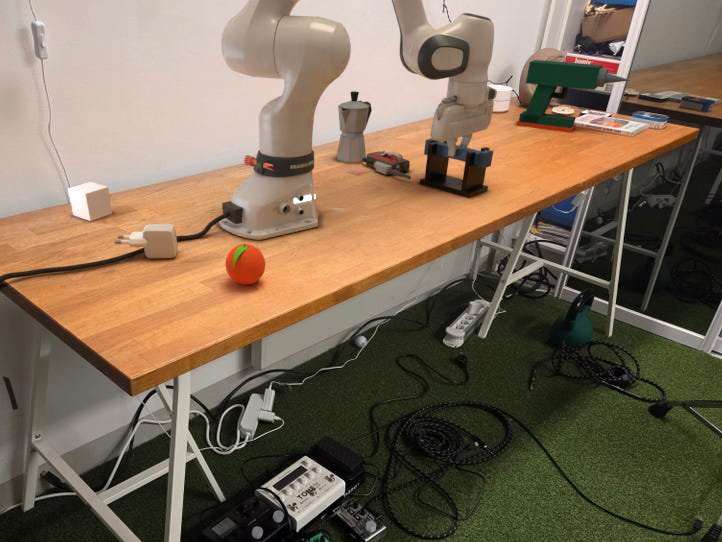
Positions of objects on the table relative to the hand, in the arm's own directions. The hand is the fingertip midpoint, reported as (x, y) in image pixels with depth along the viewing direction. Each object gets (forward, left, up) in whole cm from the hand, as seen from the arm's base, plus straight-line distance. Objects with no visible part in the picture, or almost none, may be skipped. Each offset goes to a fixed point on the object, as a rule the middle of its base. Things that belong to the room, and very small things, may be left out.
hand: (457, 154), depth 149 cm
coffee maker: (+1, +35, -8) cm, 36 cm away
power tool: (+82, +11, -8) cm, 83 cm away
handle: (0, 0, -2) cm, 2 cm away
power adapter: (-79, +15, -8) cm, 81 cm away
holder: (0, 0, -8) cm, 8 cm away
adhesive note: (-76, +43, -8) cm, 88 cm away
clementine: (-73, -7, -8) cm, 74 cm away
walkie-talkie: (-1, +19, -8) cm, 21 cm away
